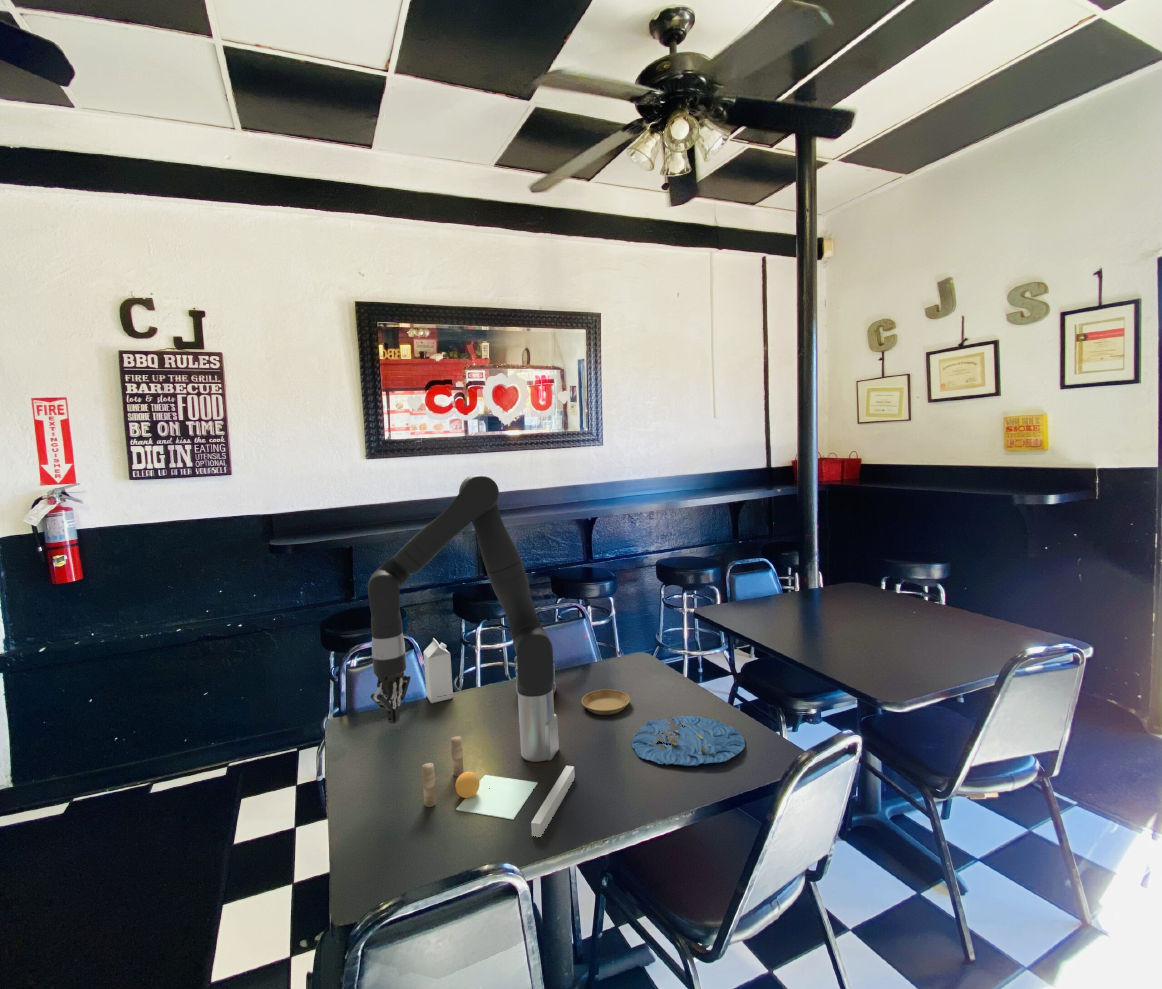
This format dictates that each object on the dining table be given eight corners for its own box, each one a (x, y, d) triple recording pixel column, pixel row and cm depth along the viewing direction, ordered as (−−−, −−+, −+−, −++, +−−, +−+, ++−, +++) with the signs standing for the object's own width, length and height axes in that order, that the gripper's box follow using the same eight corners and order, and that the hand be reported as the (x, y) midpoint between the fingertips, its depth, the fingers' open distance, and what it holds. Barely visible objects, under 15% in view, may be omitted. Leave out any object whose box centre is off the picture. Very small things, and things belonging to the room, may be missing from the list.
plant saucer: (574, 715, 174) (574, 706, 174) (591, 694, 188) (591, 687, 188) (622, 721, 169) (621, 713, 169) (635, 700, 183) (635, 692, 183)
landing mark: (537, 783, 139) (537, 782, 139) (513, 819, 126) (513, 819, 126) (485, 775, 144) (485, 774, 144) (456, 810, 131) (456, 809, 131)
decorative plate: (610, 740, 162) (608, 722, 161) (696, 712, 175) (695, 695, 175) (673, 789, 135) (672, 767, 135) (769, 751, 149) (768, 731, 149)
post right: (465, 771, 146) (463, 736, 145) (460, 777, 144) (458, 742, 143) (456, 770, 147) (454, 735, 146) (451, 775, 144) (448, 740, 144)
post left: (438, 801, 134) (435, 763, 133) (432, 808, 132) (429, 769, 131) (428, 799, 135) (426, 762, 134) (422, 806, 133) (419, 768, 132)
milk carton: (431, 704, 186) (427, 646, 185) (426, 696, 192) (422, 639, 191) (453, 698, 189) (449, 641, 188) (447, 691, 196) (443, 635, 194)
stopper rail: (574, 778, 141) (574, 766, 141) (540, 838, 120) (540, 824, 120) (566, 777, 141) (566, 765, 141) (531, 836, 121) (531, 822, 120)
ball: (462, 783, 139) (482, 791, 138) (449, 798, 134) (470, 807, 133) (464, 763, 138) (484, 771, 136) (451, 777, 133) (472, 786, 131)
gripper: (384, 664, 133) (390, 736, 135) (417, 644, 146) (422, 711, 147) (357, 661, 136) (363, 733, 137) (392, 642, 148) (397, 708, 150)
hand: (394, 721), depth 142 cm, fingers closed
